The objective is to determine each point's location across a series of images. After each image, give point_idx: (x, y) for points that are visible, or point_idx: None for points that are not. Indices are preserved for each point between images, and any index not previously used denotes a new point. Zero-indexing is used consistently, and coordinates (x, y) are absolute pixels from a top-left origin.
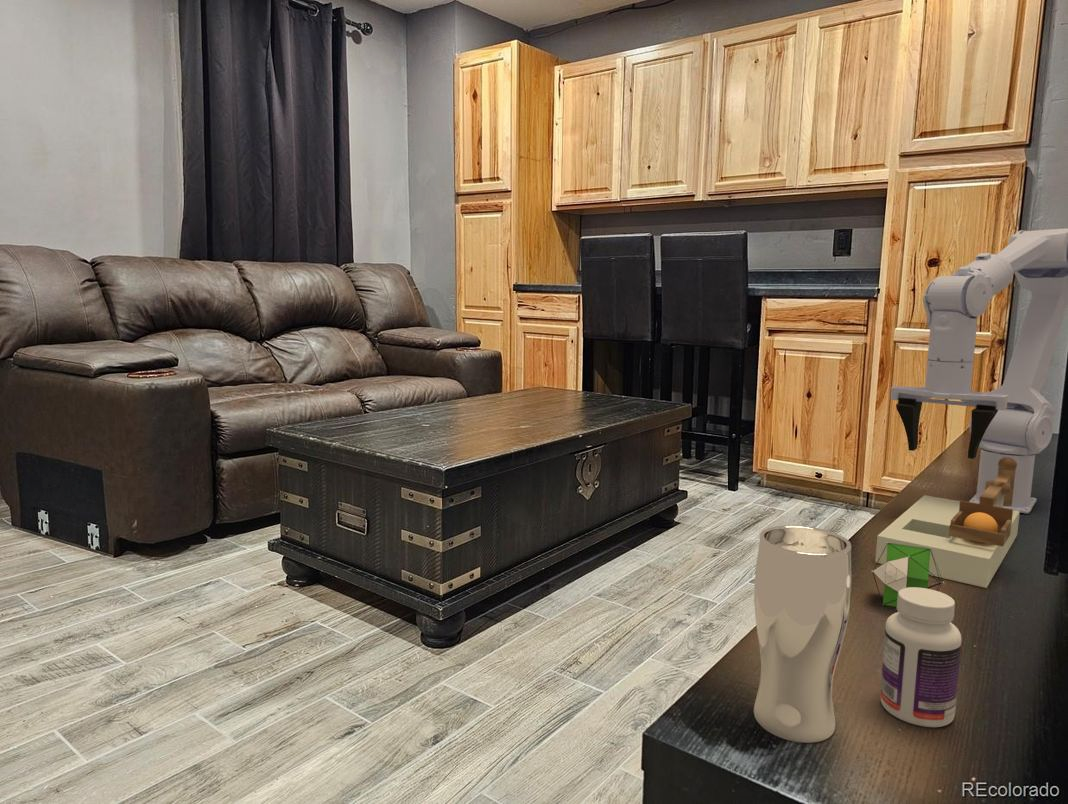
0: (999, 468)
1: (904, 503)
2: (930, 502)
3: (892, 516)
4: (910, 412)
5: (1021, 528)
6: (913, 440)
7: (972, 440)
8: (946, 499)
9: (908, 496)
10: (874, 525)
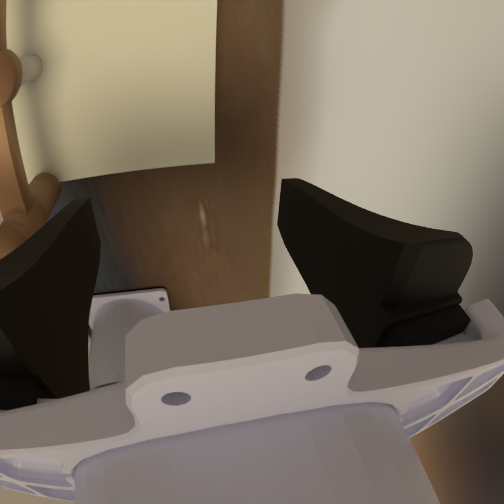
0: (25, 227)
1: (260, 219)
2: (184, 103)
3: (261, 110)
4: (393, 237)
5: (51, 216)
6: (299, 190)
7: (55, 226)
8: (161, 161)
9: (263, 266)
10: (278, 21)
